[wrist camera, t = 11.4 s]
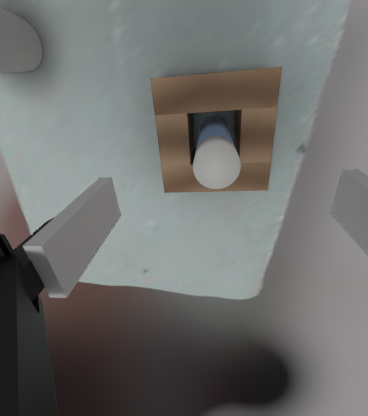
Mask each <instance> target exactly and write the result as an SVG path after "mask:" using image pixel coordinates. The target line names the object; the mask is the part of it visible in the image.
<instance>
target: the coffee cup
mask: <svg viewBox="0 0 368 416" xmlns="http://www.w3.org/2000/svg"><path fill="white" fill-rule="evenodd" d="M42 55H43V50H42V44H41V41H40V38H39V36H38V34H37V32H36V31H35V29H34V28H33V27H32V26H31V25H30V24H29V23H28V22H27V21H26V20H25V19H23V18H21V17H19V16H17V15H15V14H13V13H11V12H9V11H7V10H5V9H3V8H1V7H0V73H14V72H28V71H33V70H35V69H36V68H37V67H38V66H39V65H40V63H41V61H42Z"/></svg>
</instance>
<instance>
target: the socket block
mask: <svg viewBox="0 0 368 416" xmlns="http://www.w3.org/2000/svg"><path fill="white" fill-rule="evenodd" d="M281 69H282V67H274V68H263V69H251V70H240V71H229V72H217V73H206V74H195V75H184V76H172V77H161V78H151V86H152V94H153V103H154V111H155V119H156V127H157V135H158V143H159V151H160V159H161V167H162V175H163V183H164V191H165V193H169V192H211V191H253V190H268V184H269V175H270V166H271V157H272V148H273V140H274V131H275V122H276V113H277V104H278V95H279V86H280V78H281ZM230 110H236V119H235V148H236V151H237V153H238V156H239V158H240V162H241V169H240V173H239V175H238V177H237V179H236V180H235V181H234V182H233V183H232V184H231V185H229V186H227V187H225V188H222V189H210V188H207V187H205V186H203V185H202V184H200V183H199V182H198V180H197V179H196V177H195V175H194V172H193V162H194V157H195V153H196V151H195V152H194V148H193V129H192V113H200V112H215V111H230Z"/></svg>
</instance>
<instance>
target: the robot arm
mask: <svg viewBox="0 0 368 416" xmlns="http://www.w3.org/2000/svg"><path fill="white" fill-rule="evenodd" d="M330 214H331V215H332V216H333V218H334V219H335V220H336V221H337V222H338V223H339V224H340V225H341V227H342V228H343V229H344V230H345V231H346V232H347V233H348V234H349V235H350V237H351V238H352V239H353V240H354V241H355V242H356V243H357V244H358V246H360V248H361V249H362V250H363V251H364V252H365V253H366V255H367V256H368V175H366V174H364V173H363V172H361V171H359V170H358V169H356V170H355V169H354V170H342V173H341V176H340V180H339V184H338V187H337V191H336V194H335V198H334V201H333V205H332V208H331V212H330ZM120 216H121V214H120V210H119V205H118V201H117V197H116V193H115V189H114V185H113V181H112V177H107V178H99V179H98V180H97V181H96V182H94V183H93V184H92V185H91V186H90V187H89V188H88V189H87V190H85V191H84V192H83V193H82V194H81V195H80V196H79V197H77V198H76V199H75V200H74V201H73V202H72V203H71V204H69V205H68V206H67V207H66V208H65V209H64V210H63V211H62V212H60V213H59V214H58V215H57V216H56V217H54V218H52V219H51V220H49V221H47V222H45V223H44V224H43V225H42V226H41V227H40V228H39V230H36V231H35V232H34V233H33V235H30V236H29V237H28V238H27V239H26V240H25V241H24V242H22V243H21V244H20V245H19V246H18V247H17V248H15V249H14V250H13V249H12V247H11V245H10V244H9V242H8V240H7V238H6V237H5V235H3V234H0V416H58V411H57V405H56V397H55V390H54V383H53V376H52V369H51V362H50V355H49V348H48V341H47V334H46V327H45V320H44V313H43V305H42V300H41V298H40V297H39V294H40V292H41V291H42V290H43V289H44V287H45V289H46V291H47V293H48V295H49V297H53V298H54V297H55V298H67V297H68V295H69V294H70V292H71V291H72V289H73V287H74V286H75V284H76V283H77V281H78V280H79V278H80V277H81V275H82V274H83V272H84V271H85V269H86V268H87V266H88V265H89V263H90V262H91V260H92V259H93V257H94V256H95V254H96V253H97V251H98V250H99V248H100V247H101V245H102V244H103V242H104V241H105V239H106V238H107V236H108V235H109V233H110V232H111V230H112V229H113V227H114V226H115V224H116V223H117V221H118V219H119V218H120Z"/></svg>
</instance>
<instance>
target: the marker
mask: <svg viewBox="0 0 368 416" xmlns="http://www.w3.org/2000/svg"><path fill="white" fill-rule="evenodd" d="M240 169H241V162H240V158H239V156H238V153H237V151H236V148H235V145H234V143H233V140H232V138H231V135H230V133H229V130H228V128H227V125H226V123H225V121H224V120H223V119H222V118H220V117H218V116H211V117H208V118H207V119H205V120H204V122H203V123H202V125H201V129H200V134H199V139H198V143H197V148H196V153H195V157H194V162H193V172H194V175H195V177H196V179H197V180H198V182H199V183H200V184H202V185H203V186H205V187H207V188H210V189H222V188H225V187H227V186H229V185H231V184H232V183H233V182H234V181H235V180H236V179H237V177H238V175H239V173H240Z"/></svg>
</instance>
